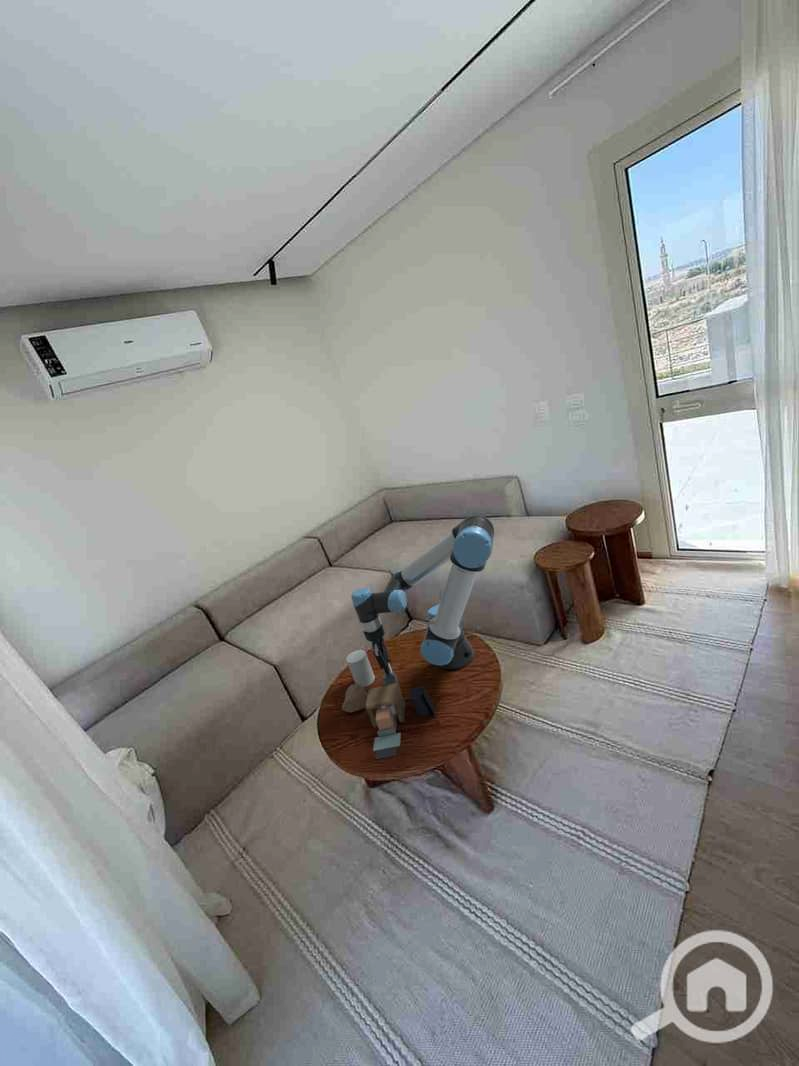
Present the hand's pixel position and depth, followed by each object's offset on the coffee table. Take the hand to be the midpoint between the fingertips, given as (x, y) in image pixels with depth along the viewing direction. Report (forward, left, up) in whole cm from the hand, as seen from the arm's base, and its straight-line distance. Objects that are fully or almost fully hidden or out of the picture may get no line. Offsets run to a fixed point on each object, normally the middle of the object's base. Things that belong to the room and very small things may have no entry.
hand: (390, 678), depth 171 cm
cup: (+12, -6, -3) cm, 13 cm away
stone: (+14, +8, -3) cm, 16 cm away
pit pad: (0, +34, -3) cm, 34 cm away
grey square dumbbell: (0, +14, -2) cm, 14 cm away
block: (0, +24, -1) cm, 24 cm away
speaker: (-13, +20, -3) cm, 24 cm away
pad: (0, +30, -3) cm, 30 cm away
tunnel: (0, +17, -3) cm, 18 cm away
